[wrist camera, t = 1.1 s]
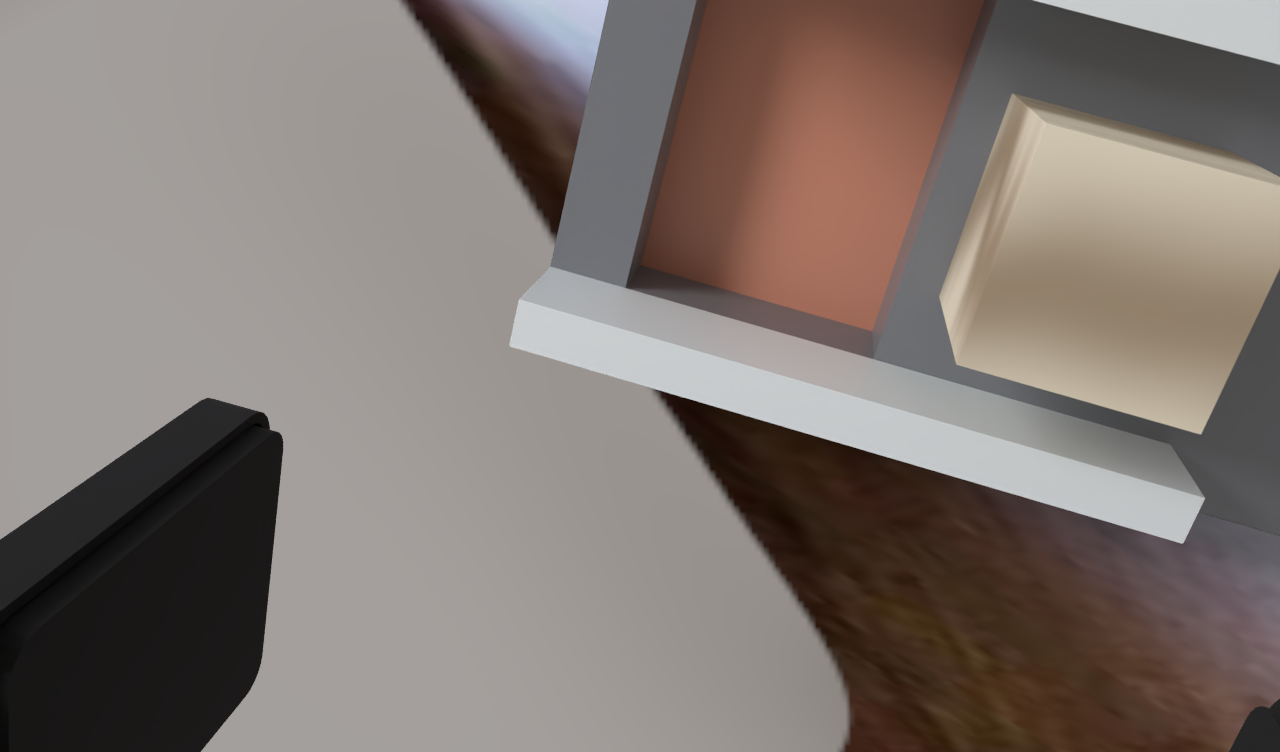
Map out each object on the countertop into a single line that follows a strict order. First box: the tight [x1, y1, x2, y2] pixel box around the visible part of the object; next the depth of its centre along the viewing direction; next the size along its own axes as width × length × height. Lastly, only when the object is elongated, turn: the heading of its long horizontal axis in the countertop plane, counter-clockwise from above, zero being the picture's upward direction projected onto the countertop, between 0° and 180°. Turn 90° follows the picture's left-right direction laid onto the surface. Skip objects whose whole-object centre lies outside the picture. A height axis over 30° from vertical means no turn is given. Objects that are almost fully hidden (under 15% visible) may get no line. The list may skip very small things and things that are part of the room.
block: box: [939, 93, 1280, 435], centre depth 25 cm, size 5×5×5 cm
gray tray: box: [509, 0, 1280, 544], centre depth 27 cm, size 22×12×6 cm, turn 75°
